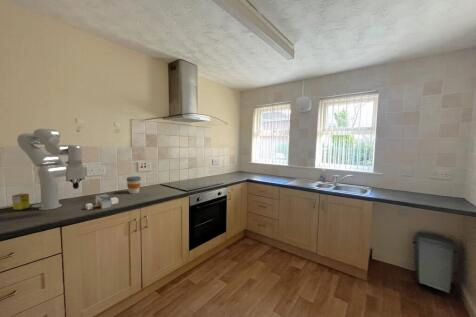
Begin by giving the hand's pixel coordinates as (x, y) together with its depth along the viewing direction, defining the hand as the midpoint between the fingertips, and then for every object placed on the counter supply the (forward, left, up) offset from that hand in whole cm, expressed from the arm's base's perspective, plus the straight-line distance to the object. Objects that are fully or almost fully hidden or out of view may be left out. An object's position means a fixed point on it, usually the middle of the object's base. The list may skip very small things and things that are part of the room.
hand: (75, 188), depth 140 cm
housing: (+17, 0, -17) cm, 23 cm away
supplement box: (-24, +34, -17) cm, 45 cm away
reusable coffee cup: (+52, +26, -17) cm, 60 cm away
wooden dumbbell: (+17, +1, -17) cm, 24 cm away
